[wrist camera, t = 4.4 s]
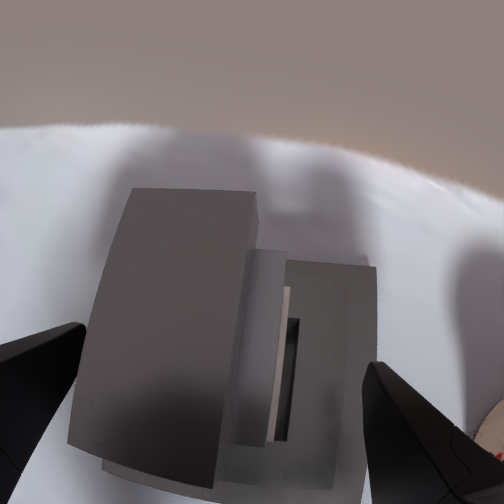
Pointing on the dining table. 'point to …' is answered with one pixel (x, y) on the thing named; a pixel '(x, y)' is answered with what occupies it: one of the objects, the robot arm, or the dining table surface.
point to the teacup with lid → (493, 432)
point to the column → (183, 337)
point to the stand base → (306, 400)
